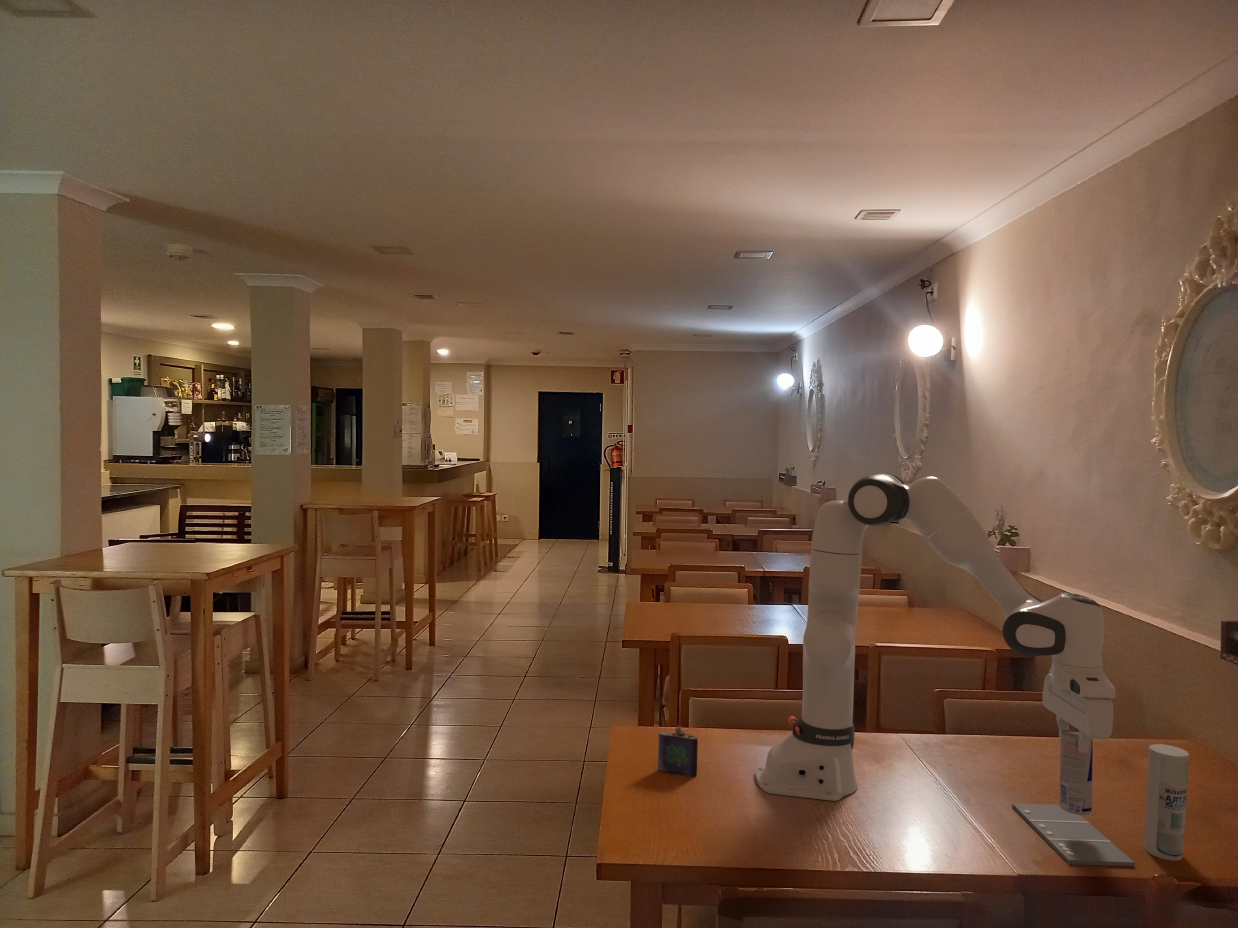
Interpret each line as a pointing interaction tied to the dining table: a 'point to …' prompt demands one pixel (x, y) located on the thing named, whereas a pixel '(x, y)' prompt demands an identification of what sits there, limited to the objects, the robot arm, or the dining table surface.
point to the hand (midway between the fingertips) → (1073, 745)
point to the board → (1072, 836)
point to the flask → (677, 753)
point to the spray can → (1166, 801)
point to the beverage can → (1075, 776)
